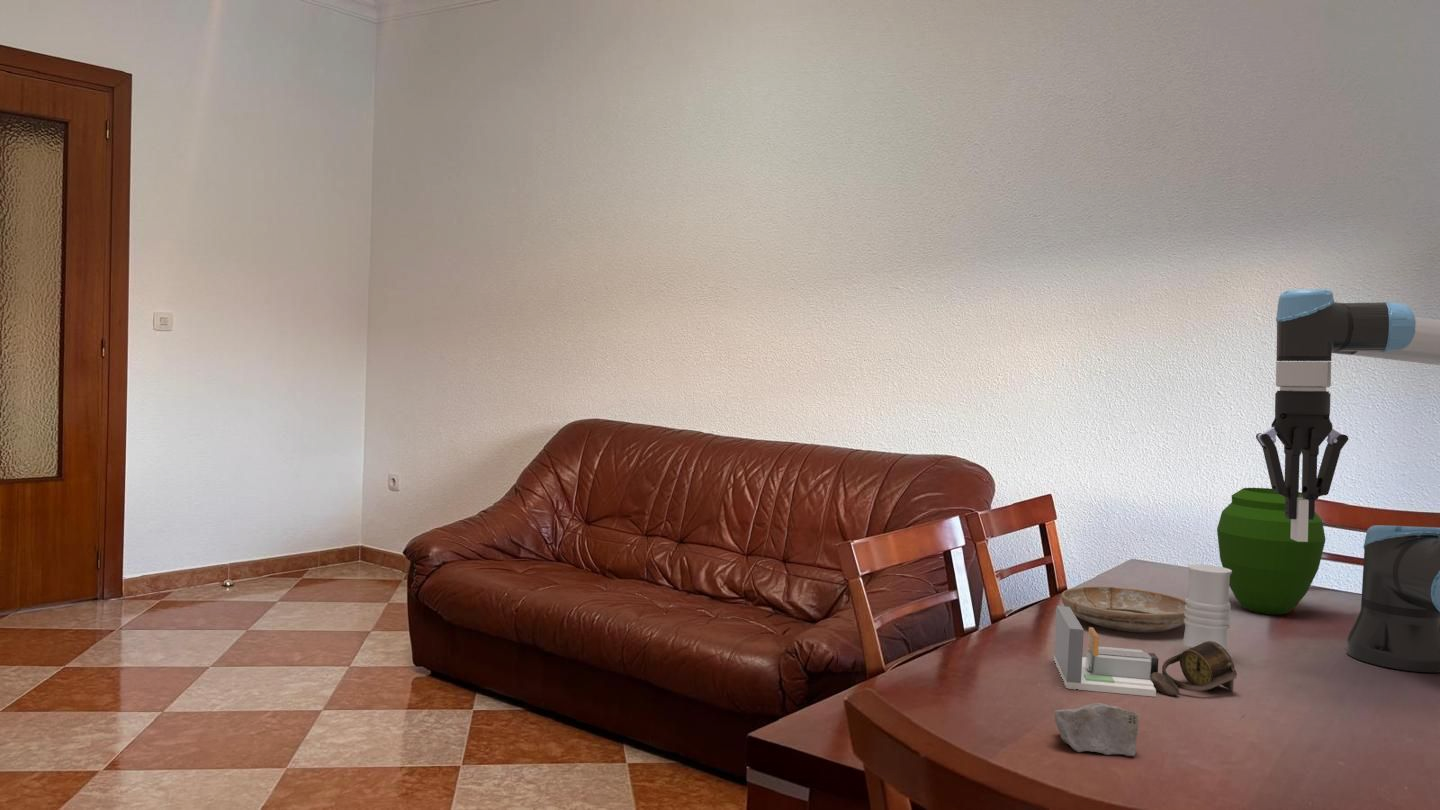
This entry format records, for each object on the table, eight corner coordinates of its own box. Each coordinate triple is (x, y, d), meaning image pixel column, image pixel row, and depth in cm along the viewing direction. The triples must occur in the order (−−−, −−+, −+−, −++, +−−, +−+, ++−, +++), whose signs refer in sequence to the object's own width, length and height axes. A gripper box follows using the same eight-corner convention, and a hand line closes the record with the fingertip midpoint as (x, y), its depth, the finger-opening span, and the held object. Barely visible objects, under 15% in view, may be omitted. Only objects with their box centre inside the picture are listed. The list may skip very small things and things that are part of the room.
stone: (1055, 729, 138) (1058, 685, 137) (1136, 743, 134) (1139, 698, 134) (1050, 749, 130) (1054, 703, 130) (1136, 765, 127) (1140, 717, 126)
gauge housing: (1135, 667, 168) (1138, 612, 167) (1155, 696, 153) (1159, 635, 153) (1053, 660, 170) (1056, 605, 170) (1066, 688, 155) (1069, 628, 155)
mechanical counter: (1257, 666, 152) (1225, 634, 162) (1170, 655, 152) (1144, 623, 161) (1243, 710, 154) (1213, 675, 163) (1158, 699, 153) (1133, 665, 163)
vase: (1323, 609, 216) (1330, 491, 215) (1317, 628, 199) (1326, 500, 198) (1219, 595, 226) (1225, 482, 225) (1205, 611, 210) (1213, 490, 209)
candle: (1234, 664, 172) (1240, 573, 171) (1191, 662, 172) (1196, 571, 172) (1217, 652, 179) (1222, 565, 178) (1175, 650, 179) (1180, 563, 178)
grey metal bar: (1153, 671, 161) (1155, 632, 161) (1161, 682, 156) (1164, 641, 155) (1085, 665, 163) (1087, 626, 163) (1091, 676, 158) (1093, 636, 157)
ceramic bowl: (1162, 612, 208) (1164, 587, 208) (1215, 644, 185) (1216, 616, 185) (1045, 607, 209) (1046, 582, 209) (1082, 638, 185) (1084, 610, 185)
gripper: (1336, 388, 166) (1332, 537, 167) (1249, 388, 167) (1246, 535, 168) (1359, 390, 158) (1354, 545, 159) (1267, 389, 160) (1264, 543, 161)
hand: (1299, 540), depth 164 cm, fingers closed
